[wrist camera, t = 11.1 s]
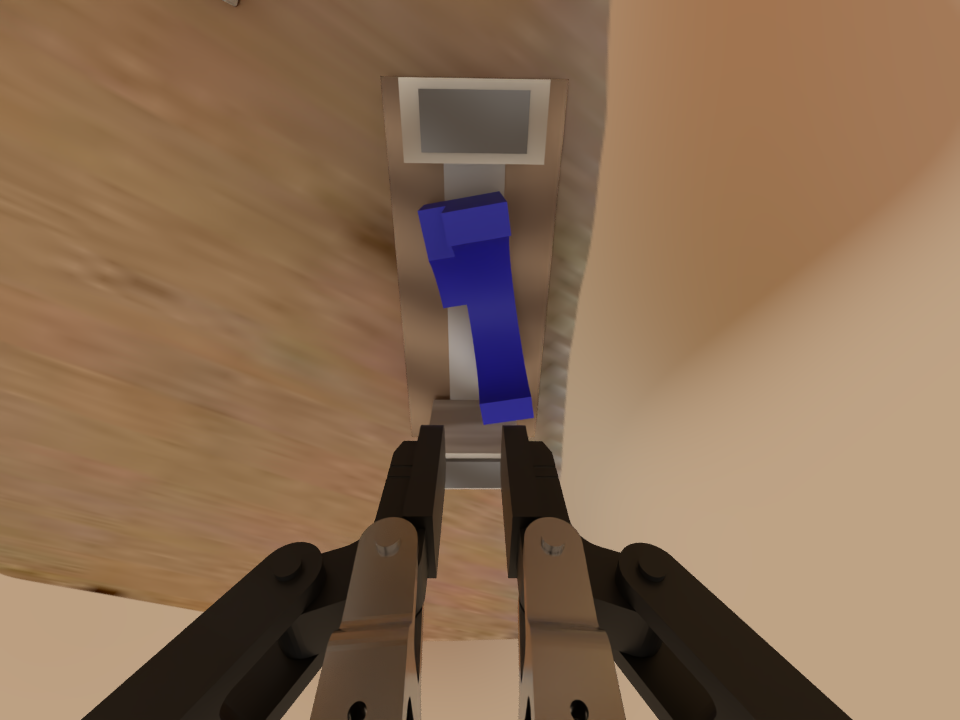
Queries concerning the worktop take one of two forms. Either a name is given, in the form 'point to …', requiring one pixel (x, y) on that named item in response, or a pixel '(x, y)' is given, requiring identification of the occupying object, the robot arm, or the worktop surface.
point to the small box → (231, 2)
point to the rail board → (532, 210)
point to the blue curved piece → (481, 295)
